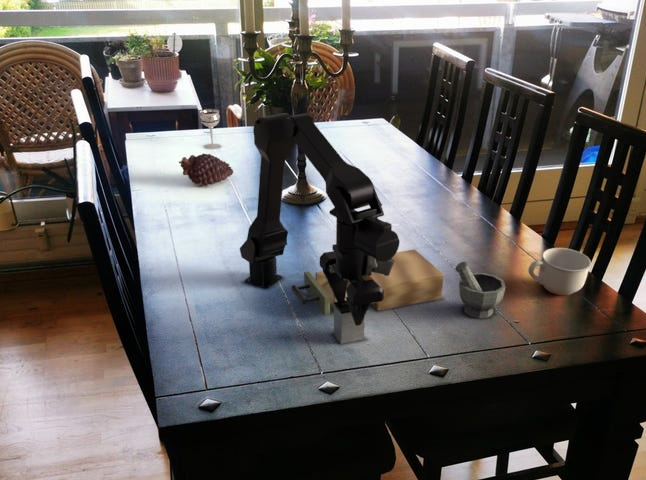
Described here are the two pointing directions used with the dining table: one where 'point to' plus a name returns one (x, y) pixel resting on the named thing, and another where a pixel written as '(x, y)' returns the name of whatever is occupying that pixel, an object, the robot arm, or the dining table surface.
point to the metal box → (346, 324)
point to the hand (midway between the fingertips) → (349, 314)
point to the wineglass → (210, 122)
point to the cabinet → (409, 281)
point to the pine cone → (205, 169)
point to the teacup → (561, 270)
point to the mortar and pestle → (479, 291)
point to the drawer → (318, 291)
